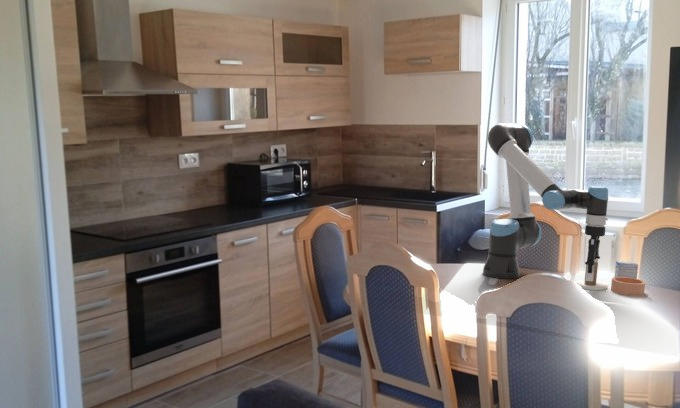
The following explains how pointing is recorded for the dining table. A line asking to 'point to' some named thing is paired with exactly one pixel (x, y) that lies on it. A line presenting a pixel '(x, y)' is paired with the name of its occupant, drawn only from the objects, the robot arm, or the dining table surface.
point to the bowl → (628, 286)
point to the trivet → (601, 290)
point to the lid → (592, 284)
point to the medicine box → (626, 269)
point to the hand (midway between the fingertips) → (591, 277)
